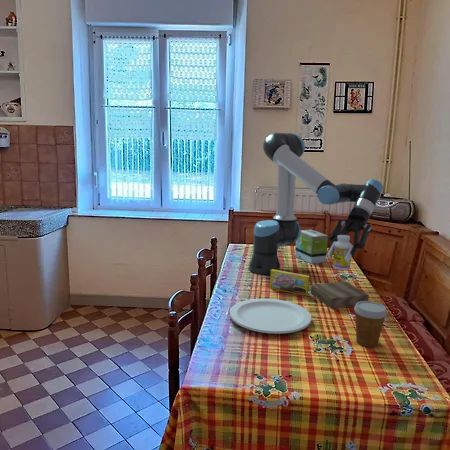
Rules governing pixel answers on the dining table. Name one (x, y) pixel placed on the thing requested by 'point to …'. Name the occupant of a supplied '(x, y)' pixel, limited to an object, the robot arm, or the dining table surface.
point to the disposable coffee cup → (369, 322)
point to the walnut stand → (338, 294)
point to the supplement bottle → (341, 252)
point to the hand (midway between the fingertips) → (337, 258)
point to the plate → (270, 316)
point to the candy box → (289, 282)
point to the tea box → (311, 246)
